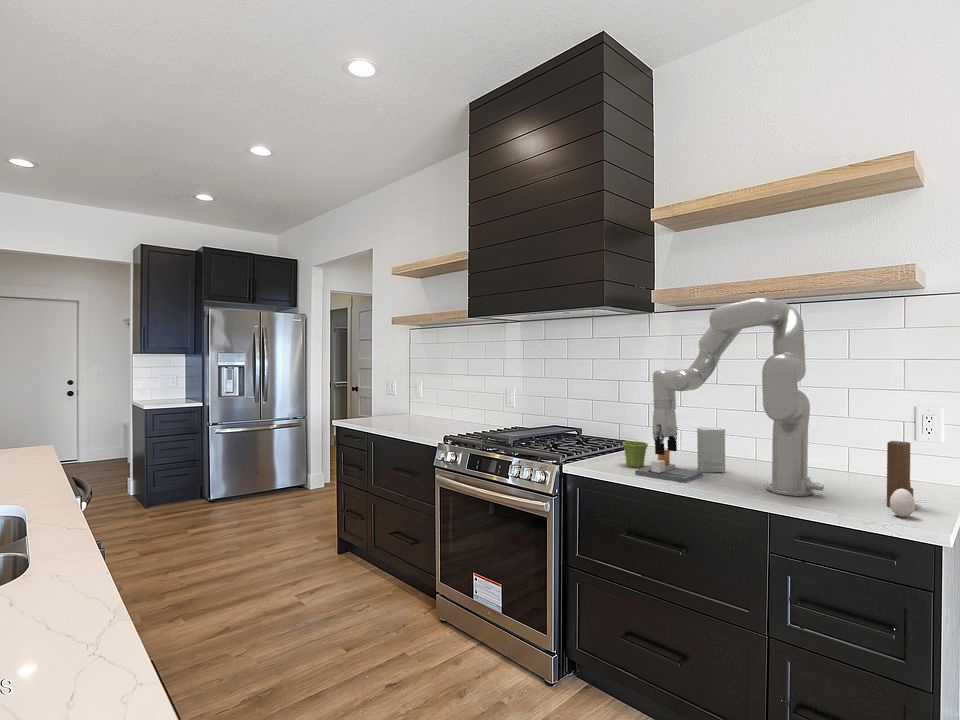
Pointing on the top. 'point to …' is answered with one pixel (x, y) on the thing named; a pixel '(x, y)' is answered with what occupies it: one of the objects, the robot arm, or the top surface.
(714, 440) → the skincare box
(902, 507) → the egg
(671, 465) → the pad
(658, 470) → the block
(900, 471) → the wooden block
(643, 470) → the breaker board
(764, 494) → the top surface
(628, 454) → the plant pot
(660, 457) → the cap
